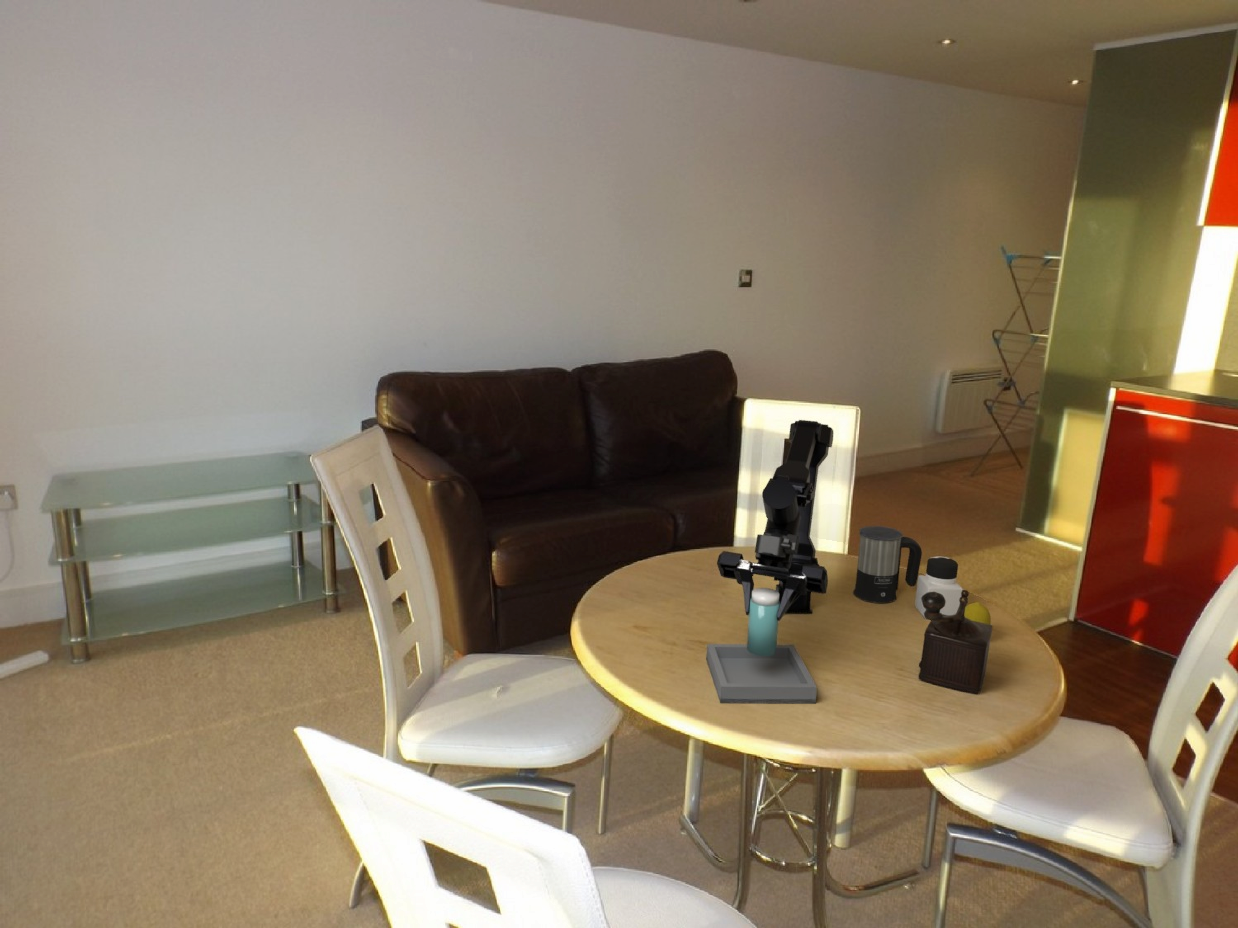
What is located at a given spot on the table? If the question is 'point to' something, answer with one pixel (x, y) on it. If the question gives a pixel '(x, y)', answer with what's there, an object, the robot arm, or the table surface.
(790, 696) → the tray
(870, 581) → the milk frother
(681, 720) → the table surface
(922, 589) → the medicine bottle
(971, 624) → the manual coffee grinder
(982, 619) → the lemon
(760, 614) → the ball
